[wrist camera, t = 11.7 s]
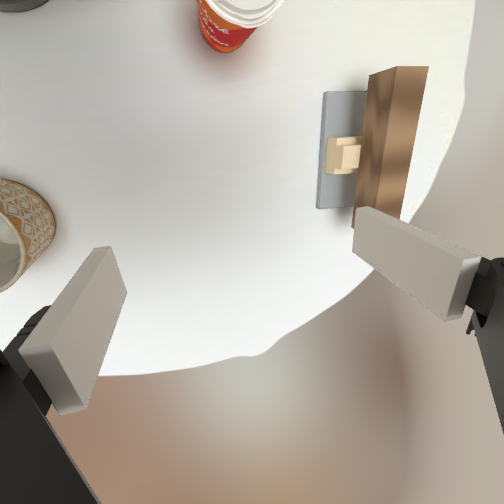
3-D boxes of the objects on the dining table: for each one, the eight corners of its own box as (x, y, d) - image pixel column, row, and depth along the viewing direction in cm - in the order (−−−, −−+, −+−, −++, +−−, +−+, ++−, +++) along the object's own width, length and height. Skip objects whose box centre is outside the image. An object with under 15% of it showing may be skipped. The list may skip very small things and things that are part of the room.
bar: (369, 75, 34) (397, 66, 29) (397, 75, 34) (428, 66, 30) (351, 227, 42) (370, 238, 37) (374, 224, 42) (396, 235, 38)
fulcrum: (323, 92, 39) (345, 86, 33) (384, 92, 41) (415, 85, 35) (316, 207, 46) (333, 217, 40) (368, 202, 48) (392, 211, 42)
